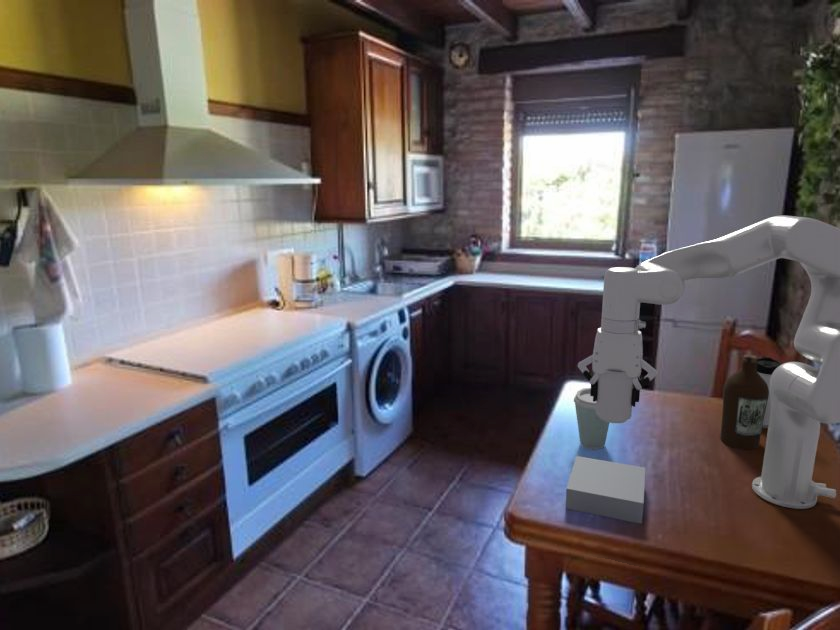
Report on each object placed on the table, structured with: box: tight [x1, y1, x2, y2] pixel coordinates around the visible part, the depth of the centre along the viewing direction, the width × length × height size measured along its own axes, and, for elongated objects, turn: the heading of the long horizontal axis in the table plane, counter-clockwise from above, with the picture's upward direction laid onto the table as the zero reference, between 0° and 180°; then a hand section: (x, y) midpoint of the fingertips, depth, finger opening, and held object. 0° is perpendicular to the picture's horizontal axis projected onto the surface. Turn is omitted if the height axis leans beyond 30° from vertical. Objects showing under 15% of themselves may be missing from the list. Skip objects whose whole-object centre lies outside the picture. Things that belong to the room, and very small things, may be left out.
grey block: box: [565, 455, 646, 525], centre depth 128 cm, size 16×16×5 cm
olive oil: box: [719, 354, 769, 450], centre depth 151 cm, size 11×11×25 cm
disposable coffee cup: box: [573, 387, 610, 450], centre depth 152 cm, size 11×11×15 cm
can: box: [596, 370, 634, 424], centre depth 122 cm, size 8×8×12 cm
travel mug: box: [756, 356, 781, 429], centre depth 162 cm, size 6×7×20 cm
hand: (614, 401), depth 122 cm, fingers closed on can, 7 cm apart
